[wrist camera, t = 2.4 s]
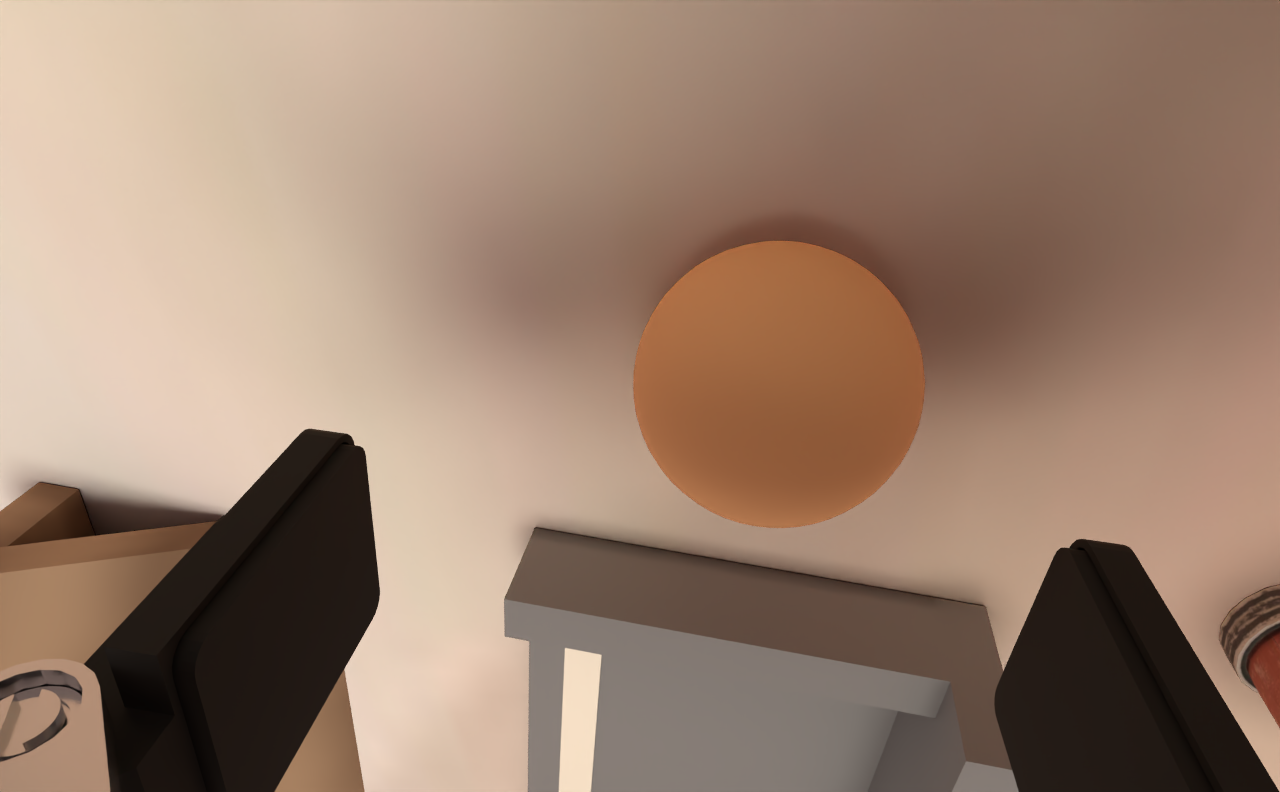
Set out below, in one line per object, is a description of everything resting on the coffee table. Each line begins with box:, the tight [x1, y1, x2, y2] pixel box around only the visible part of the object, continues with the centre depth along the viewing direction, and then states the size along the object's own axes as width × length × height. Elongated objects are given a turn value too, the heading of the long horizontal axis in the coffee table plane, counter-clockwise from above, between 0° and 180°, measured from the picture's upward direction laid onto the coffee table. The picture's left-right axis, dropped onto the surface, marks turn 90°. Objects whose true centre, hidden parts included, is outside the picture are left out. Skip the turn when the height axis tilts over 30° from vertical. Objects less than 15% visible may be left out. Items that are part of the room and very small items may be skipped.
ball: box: [633, 241, 925, 528], centre depth 14 cm, size 5×5×5 cm
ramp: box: [0, 482, 364, 792], centre depth 24 cm, size 9×12×5 cm
